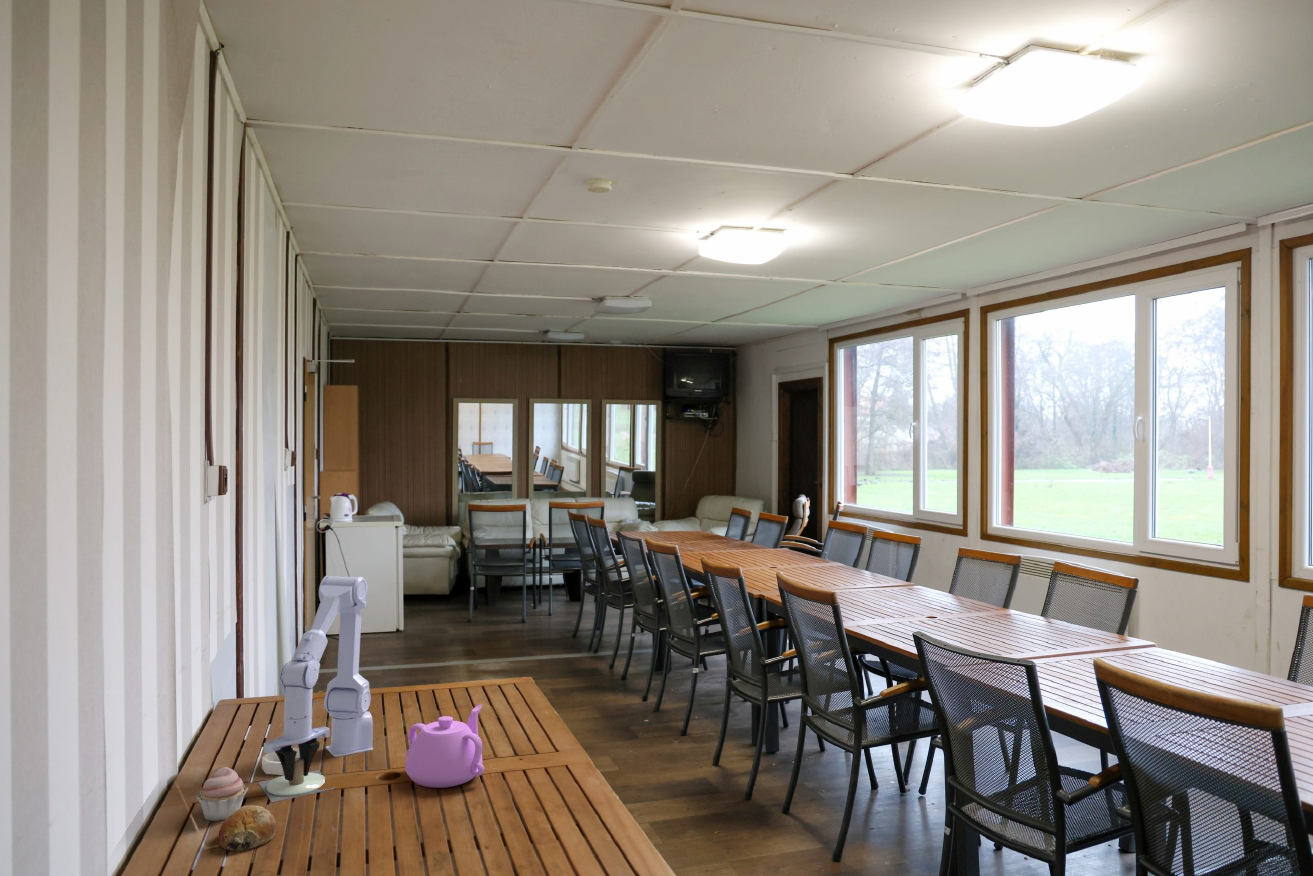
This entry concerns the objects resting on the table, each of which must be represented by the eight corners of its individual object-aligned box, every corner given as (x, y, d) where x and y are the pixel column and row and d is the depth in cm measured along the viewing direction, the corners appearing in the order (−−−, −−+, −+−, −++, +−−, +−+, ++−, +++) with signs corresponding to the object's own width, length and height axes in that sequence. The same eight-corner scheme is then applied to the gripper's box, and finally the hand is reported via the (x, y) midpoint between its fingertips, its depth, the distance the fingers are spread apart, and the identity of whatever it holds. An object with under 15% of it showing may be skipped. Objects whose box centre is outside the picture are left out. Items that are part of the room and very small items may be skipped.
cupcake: (213, 830, 166) (214, 779, 166) (186, 818, 171) (188, 768, 171) (257, 813, 174) (258, 764, 174) (230, 802, 179) (232, 755, 179)
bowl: (302, 757, 205) (303, 745, 205) (313, 770, 197) (314, 757, 198) (259, 766, 199) (259, 753, 200) (268, 779, 192) (269, 766, 192)
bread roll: (279, 856, 163) (293, 811, 167) (242, 854, 155) (258, 807, 158) (239, 847, 167) (254, 803, 170) (201, 845, 158) (217, 799, 161)
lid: (316, 771, 196) (317, 746, 196) (332, 788, 186) (332, 762, 186) (260, 782, 189) (261, 757, 189) (273, 801, 179) (274, 774, 179)
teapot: (516, 767, 202) (517, 709, 202) (459, 801, 182) (460, 736, 182) (442, 752, 211) (444, 696, 211) (380, 782, 191) (382, 721, 191)
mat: (318, 771, 197) (318, 770, 197) (335, 790, 186) (335, 788, 186) (258, 784, 189) (258, 782, 189) (271, 804, 178) (271, 802, 178)
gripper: (317, 704, 196) (316, 763, 196) (256, 719, 184) (255, 782, 184) (335, 710, 192) (333, 770, 192) (274, 726, 180) (272, 790, 180)
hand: (296, 777), depth 188 cm, fingers closed on lid, 3 cm apart
